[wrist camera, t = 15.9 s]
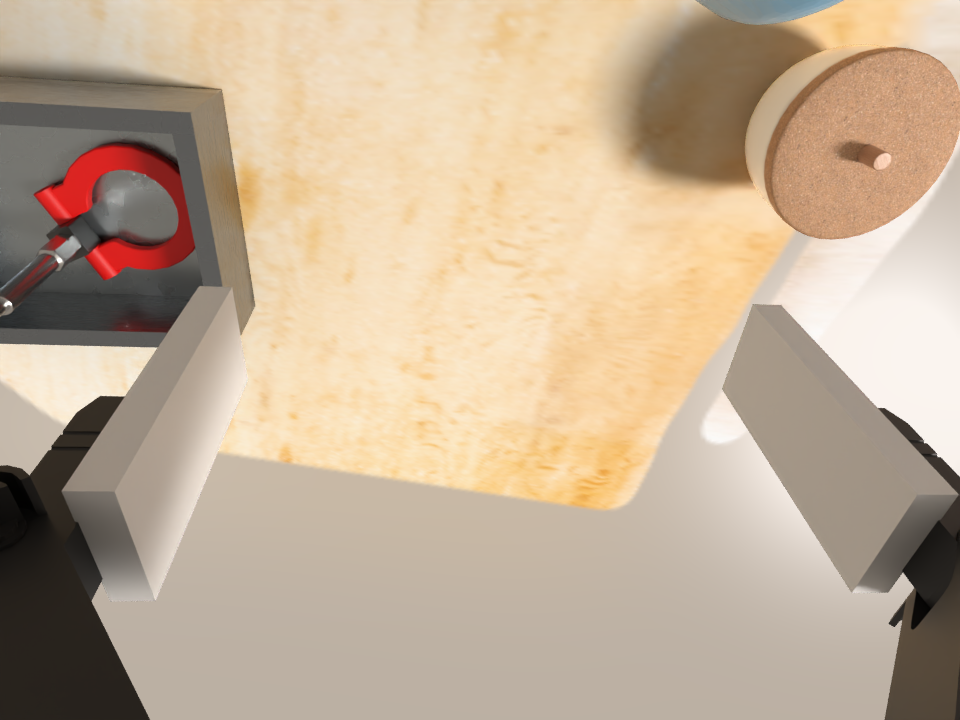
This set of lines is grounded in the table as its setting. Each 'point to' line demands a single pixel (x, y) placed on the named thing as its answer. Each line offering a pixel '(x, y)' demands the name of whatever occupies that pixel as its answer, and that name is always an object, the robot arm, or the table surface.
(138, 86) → the grey open box
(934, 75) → the lidded jar
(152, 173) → the tow hook
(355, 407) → the table surface
